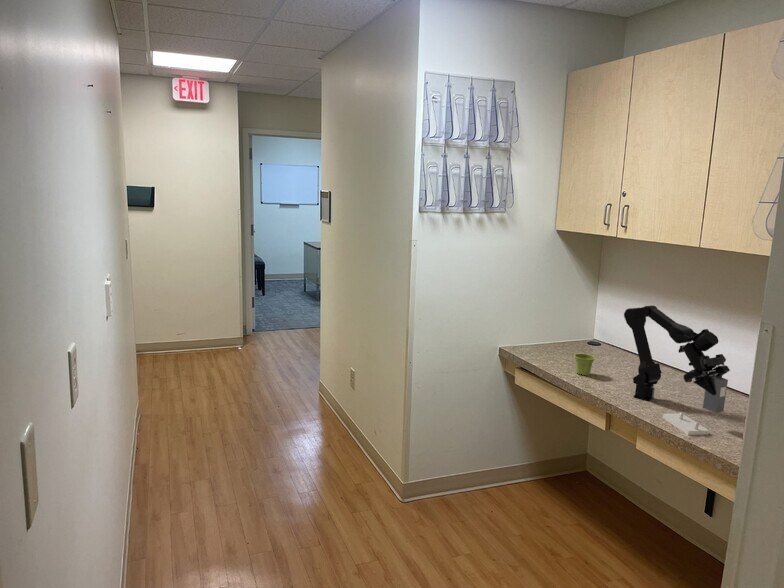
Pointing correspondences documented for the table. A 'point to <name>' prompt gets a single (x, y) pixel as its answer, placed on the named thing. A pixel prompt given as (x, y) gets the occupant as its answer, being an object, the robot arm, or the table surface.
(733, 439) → the table surface
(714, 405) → the block
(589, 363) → the plant pot
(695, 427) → the dock
